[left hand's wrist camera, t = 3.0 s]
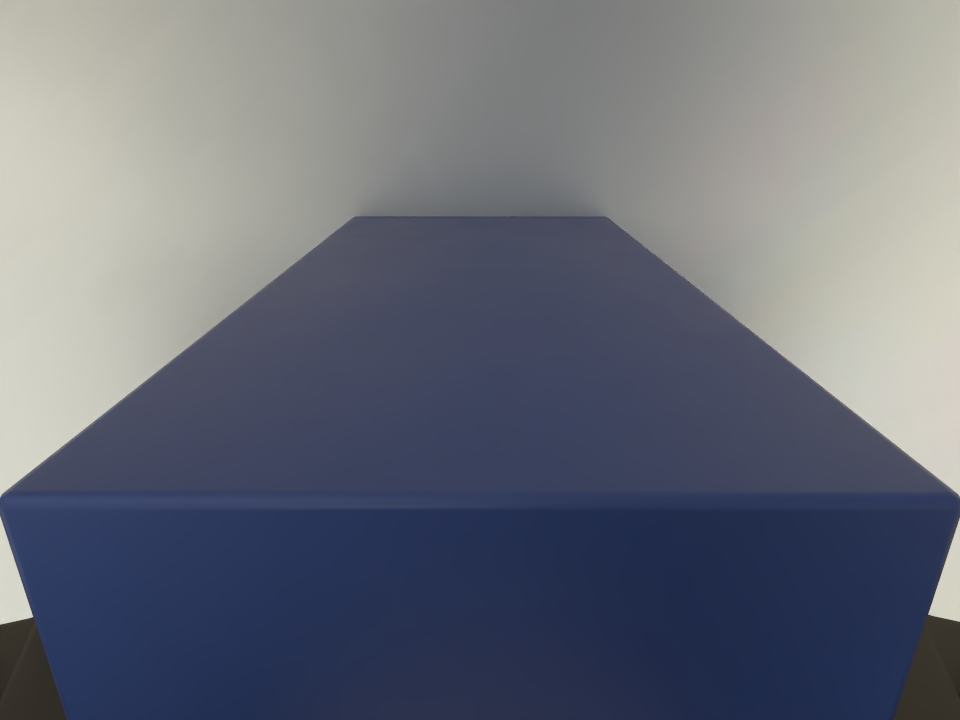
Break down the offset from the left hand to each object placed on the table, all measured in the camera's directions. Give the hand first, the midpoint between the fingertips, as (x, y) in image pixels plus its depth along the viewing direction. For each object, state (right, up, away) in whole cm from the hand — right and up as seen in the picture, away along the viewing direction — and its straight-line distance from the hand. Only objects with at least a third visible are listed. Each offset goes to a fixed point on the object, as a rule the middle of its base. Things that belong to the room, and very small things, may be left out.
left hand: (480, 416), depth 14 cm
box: (0, -7, +6) cm, 9 cm away
